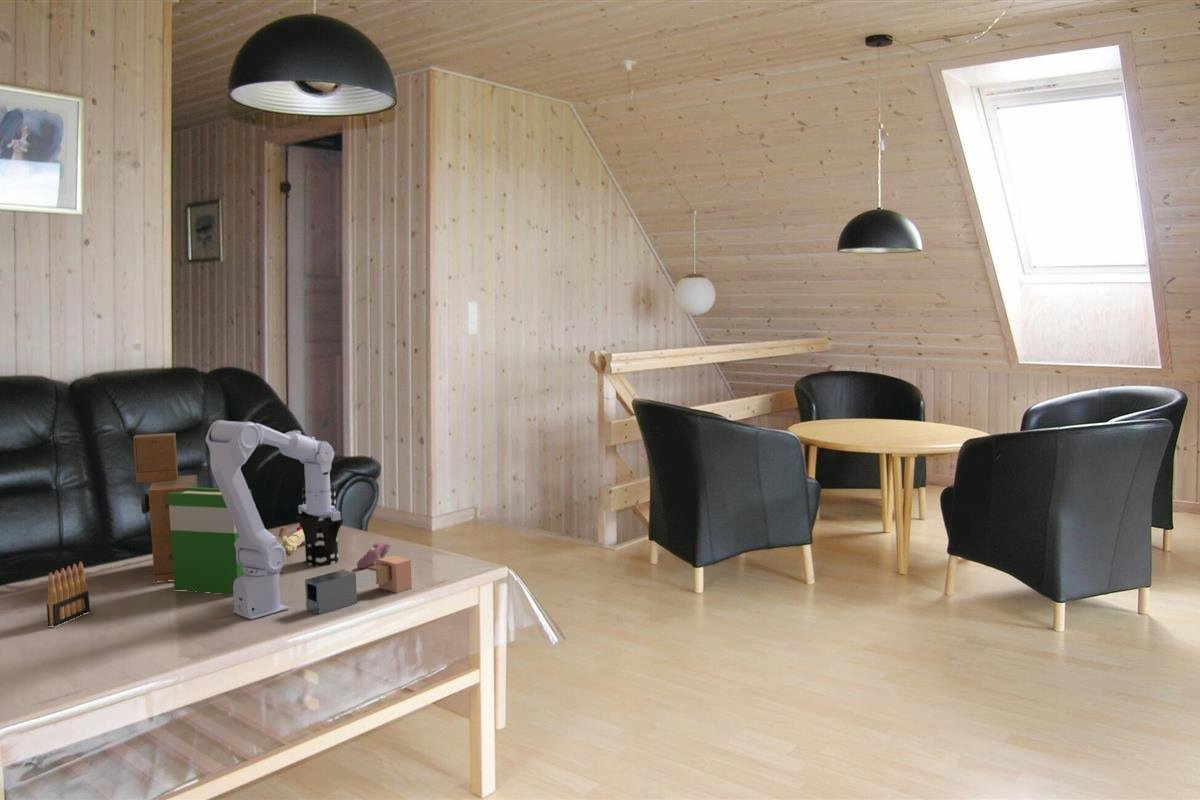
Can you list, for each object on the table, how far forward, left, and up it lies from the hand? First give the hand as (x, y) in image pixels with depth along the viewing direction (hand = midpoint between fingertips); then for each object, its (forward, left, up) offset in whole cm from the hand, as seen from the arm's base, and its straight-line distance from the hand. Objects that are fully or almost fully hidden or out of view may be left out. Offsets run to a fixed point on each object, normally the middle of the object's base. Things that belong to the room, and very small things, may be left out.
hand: (320, 546), depth 235 cm
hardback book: (-16, +21, -11) cm, 28 cm away
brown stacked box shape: (-14, +45, -11) cm, 48 cm away
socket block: (+11, -14, -10) cm, 21 cm away
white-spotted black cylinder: (+14, +21, -11) cm, 27 cm away
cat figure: (+23, +41, -11) cm, 48 cm away
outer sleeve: (-7, -14, -10) cm, 19 cm away
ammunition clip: (-48, +25, -11) cm, 55 cm away
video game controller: (+21, +8, -11) cm, 25 cm away
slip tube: (+3, -14, -8) cm, 16 cm away
